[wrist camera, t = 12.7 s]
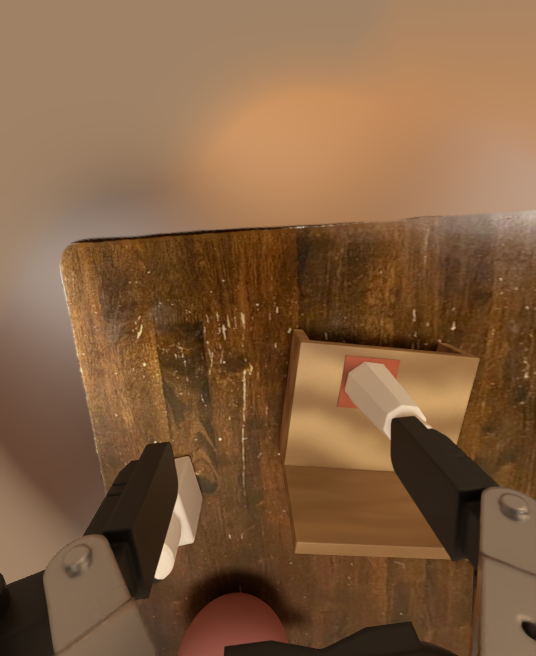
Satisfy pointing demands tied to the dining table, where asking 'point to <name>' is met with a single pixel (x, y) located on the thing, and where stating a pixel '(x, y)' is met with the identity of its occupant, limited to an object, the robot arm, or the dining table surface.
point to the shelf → (361, 447)
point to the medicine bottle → (181, 517)
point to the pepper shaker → (380, 396)
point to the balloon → (231, 625)
